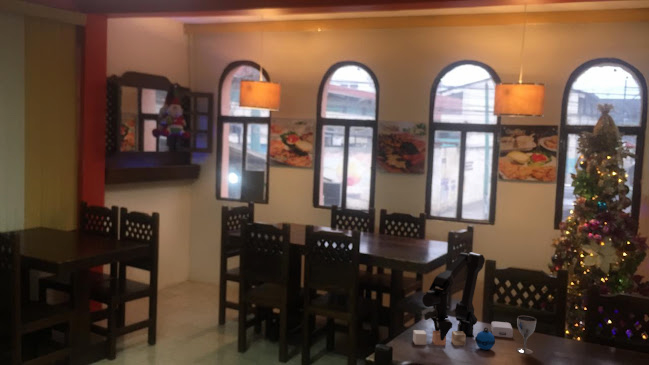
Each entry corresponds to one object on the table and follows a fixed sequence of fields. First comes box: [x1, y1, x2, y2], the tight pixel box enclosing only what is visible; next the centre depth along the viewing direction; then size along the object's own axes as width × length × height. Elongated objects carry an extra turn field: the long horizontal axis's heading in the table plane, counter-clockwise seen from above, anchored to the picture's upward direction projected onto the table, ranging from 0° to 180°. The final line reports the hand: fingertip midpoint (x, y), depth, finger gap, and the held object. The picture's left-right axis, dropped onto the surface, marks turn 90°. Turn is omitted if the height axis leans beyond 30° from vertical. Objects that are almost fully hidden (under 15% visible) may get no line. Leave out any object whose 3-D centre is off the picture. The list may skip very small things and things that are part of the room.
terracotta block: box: [431, 330, 447, 346], centre depth 278 cm, size 5×5×5 cm
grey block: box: [412, 329, 428, 346], centre depth 277 cm, size 5×5×5 cm
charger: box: [490, 321, 514, 339], centre depth 298 cm, size 5×9×15 cm
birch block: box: [450, 330, 466, 346], centre depth 278 cm, size 5×5×5 cm
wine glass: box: [515, 315, 537, 355], centre depth 272 cm, size 8×8×15 cm
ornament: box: [474, 327, 496, 351], centre depth 272 cm, size 9×9×10 cm
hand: (439, 336), depth 278 cm, fingers open, 9 cm apart
